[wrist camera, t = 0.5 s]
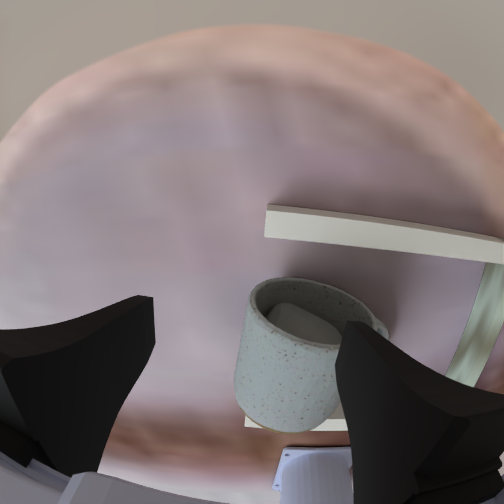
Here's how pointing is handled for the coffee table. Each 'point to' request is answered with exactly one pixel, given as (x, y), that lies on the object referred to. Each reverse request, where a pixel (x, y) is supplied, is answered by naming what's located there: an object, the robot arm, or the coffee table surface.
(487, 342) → the block
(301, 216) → the track rails
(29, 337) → the robot arm
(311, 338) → the ceramic mug
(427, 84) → the coffee table surface
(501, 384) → the coffee table surface
